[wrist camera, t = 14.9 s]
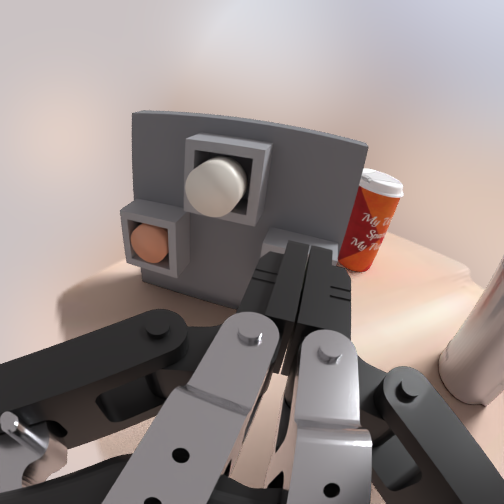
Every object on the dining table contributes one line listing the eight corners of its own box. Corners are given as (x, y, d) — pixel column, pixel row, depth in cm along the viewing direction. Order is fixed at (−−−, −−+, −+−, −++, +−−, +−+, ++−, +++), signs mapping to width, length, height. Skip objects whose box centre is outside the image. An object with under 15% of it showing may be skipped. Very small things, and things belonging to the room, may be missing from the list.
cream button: (235, 222, 21) (240, 169, 19) (184, 211, 22) (186, 160, 20) (244, 208, 23) (250, 160, 21) (198, 199, 24) (200, 152, 22)
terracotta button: (166, 267, 28) (164, 231, 26) (133, 257, 28) (128, 223, 26) (177, 254, 30) (176, 219, 28) (145, 245, 30) (142, 212, 28)
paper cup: (351, 280, 40) (382, 188, 32) (321, 251, 45) (342, 165, 38) (385, 270, 43) (416, 188, 35) (355, 244, 48) (379, 167, 41)
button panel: (309, 348, 29) (373, 155, 18) (129, 295, 32) (111, 118, 21) (315, 310, 34) (364, 140, 23) (154, 267, 37) (149, 109, 26)
